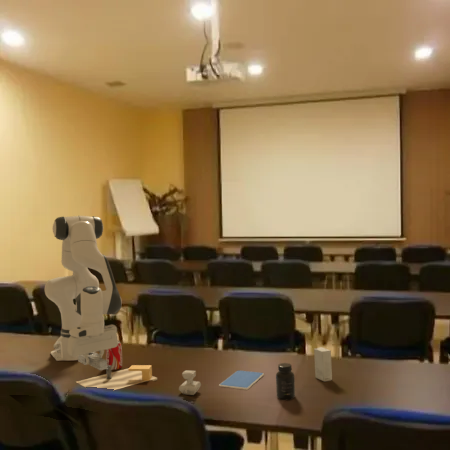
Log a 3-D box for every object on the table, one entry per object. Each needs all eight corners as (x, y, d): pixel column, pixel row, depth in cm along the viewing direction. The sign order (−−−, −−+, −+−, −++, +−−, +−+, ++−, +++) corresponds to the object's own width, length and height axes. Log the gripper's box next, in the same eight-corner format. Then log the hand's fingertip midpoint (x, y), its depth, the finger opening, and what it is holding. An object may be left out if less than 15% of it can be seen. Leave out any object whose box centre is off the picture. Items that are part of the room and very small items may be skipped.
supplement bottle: (274, 394, 203) (274, 362, 203) (292, 393, 204) (292, 361, 203) (278, 400, 197) (277, 368, 196) (296, 399, 197) (296, 367, 197)
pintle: (105, 380, 225) (105, 365, 225) (110, 379, 226) (109, 364, 226) (108, 381, 223) (107, 367, 223) (112, 380, 225) (112, 365, 224)
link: (78, 361, 220) (77, 353, 220) (91, 358, 224) (91, 350, 223) (96, 371, 208) (96, 363, 207) (110, 367, 211) (110, 359, 211)
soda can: (118, 371, 236) (117, 344, 235) (103, 371, 237) (102, 344, 236) (125, 366, 243) (124, 340, 242) (110, 366, 244) (109, 339, 243)
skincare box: (332, 380, 217) (332, 350, 216) (323, 382, 215) (322, 351, 214) (323, 375, 222) (322, 346, 222) (314, 377, 221) (313, 348, 220)
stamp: (194, 398, 202) (193, 376, 201) (177, 397, 204) (177, 374, 203) (202, 389, 210) (201, 368, 210) (186, 388, 212) (185, 367, 212)
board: (75, 383, 222) (75, 381, 222) (132, 369, 239) (132, 367, 239) (98, 396, 206) (98, 394, 206) (157, 379, 223) (157, 378, 223)
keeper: (128, 382, 222) (128, 369, 221) (132, 378, 227) (131, 365, 226) (149, 382, 221) (149, 368, 221) (152, 378, 226) (151, 365, 226)
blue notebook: (247, 391, 209) (247, 388, 209) (218, 387, 214) (217, 384, 214) (265, 375, 226) (265, 372, 226) (237, 372, 232) (237, 369, 232)
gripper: (112, 322, 224) (113, 355, 225) (65, 331, 211) (66, 366, 212) (120, 325, 219) (121, 358, 220) (72, 334, 206) (73, 370, 207)
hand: (94, 362), depth 216 cm, fingers closed on link, 3 cm apart
